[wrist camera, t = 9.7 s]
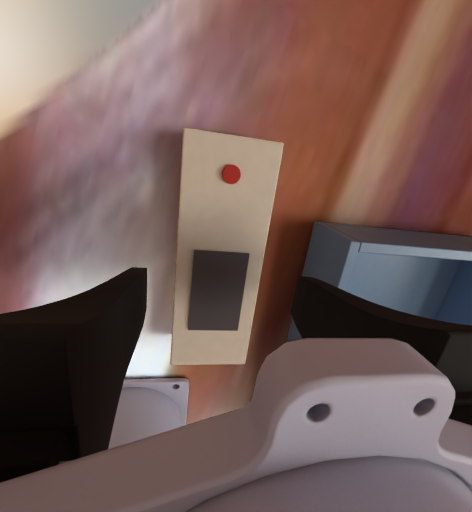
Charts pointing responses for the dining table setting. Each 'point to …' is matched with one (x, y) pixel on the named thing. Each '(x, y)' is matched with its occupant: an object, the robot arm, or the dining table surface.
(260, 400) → the robot arm
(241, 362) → the remote
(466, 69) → the dining table surface
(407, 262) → the box
